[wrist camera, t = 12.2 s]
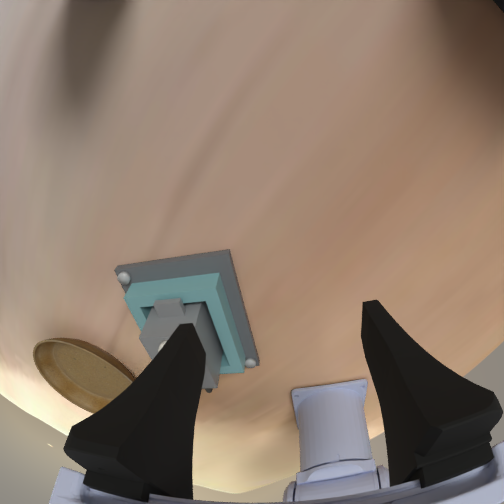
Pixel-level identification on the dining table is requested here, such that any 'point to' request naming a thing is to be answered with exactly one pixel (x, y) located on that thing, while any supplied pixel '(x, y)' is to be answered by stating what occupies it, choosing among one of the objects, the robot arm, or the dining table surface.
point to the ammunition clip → (500, 4)
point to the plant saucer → (81, 372)
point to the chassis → (196, 298)
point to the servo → (176, 312)
